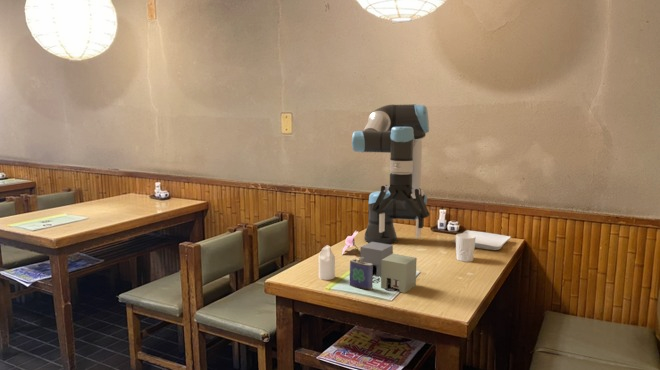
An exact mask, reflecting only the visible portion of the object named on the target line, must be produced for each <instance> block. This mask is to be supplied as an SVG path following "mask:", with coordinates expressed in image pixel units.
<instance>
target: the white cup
mask: <svg viewBox="0 0 660 370" xmlns="http://www.w3.org/2000/svg"><path fill="white" fill-rule="evenodd" d="M455 238H456V243H455V253H456V254H455V255H456V257H455V258H456V260H457V261H459V262H465V263H466V262H467V263H469V262H473V261H474V256H475V255H474V254H475V249H476V248H475V240H476V236H475V235H472V234H462V233H457V234H455Z"/></svg>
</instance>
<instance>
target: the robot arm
mask: <svg viewBox="0 0 660 370" xmlns="http://www.w3.org/2000/svg"><path fill="white" fill-rule="evenodd" d="M429 120H430V119H429V113H428V109H427V107H426V105H424V104H416V103H415V104H386V105H384V106H381V107H379V108H377V109H375V110H373V111H372V112H371V113H370V114H369V116H368V118H367V123H366V125H365V127H364V129H363V130H356V131H353V133H352V136H351V147H352V150H353V152H356V153H357V152H359V153H385V154H386V153H387V154H388V153H390V158H389V166H390V168H389V171H390V174H389V186H388V185H387V184H384V185H382V186H380V190H378V191H373V192H371V193H370V194H369V196H368V222H367V227H366V230H365V233H364V239H363V240H364V241H365V242H367V243H370V242H377V243H383V244H389V245H390V244H394V243H396V242H397V237H398V236H397V233H396V230H395V226H394V220H405V221H406V220H407V221H415V239H418V238H421V237H422V235H421V234H422V229H423V228H424V223H425V218H428V217H430V212H429V209H428V208H427V200H428V195H426V194H425V191H424V189H422V154H423V153H422V151H423V150H422V148H423V145H422V143H423V140H424V138H426V134H427V133H429V132H430V126H429V125H430V121H429Z"/></svg>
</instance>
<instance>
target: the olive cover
mask: <svg viewBox="0 0 660 370" xmlns="http://www.w3.org/2000/svg"><path fill="white" fill-rule="evenodd" d="M417 259H418V258H417V257H414V256H410V255H409V256H408V255H404V254H398V253H393V254H391V255H390V256H388V257H386V258H384V259H382V262H381V277H380V288H381V289H384V288H385V290H387V289H388V285H391V279H395V280H400V289H399V292H400V293H403V294H406V293H408V292H409V291H410V290H411V289H412V288H414V287H415V286H416V284H417Z"/></svg>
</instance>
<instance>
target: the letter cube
mask: <svg viewBox="0 0 660 370" xmlns="http://www.w3.org/2000/svg"><path fill="white" fill-rule="evenodd" d="M392 287H393V289H397V288H398V289H397V290H400V280H395V279H391V283H390V288H392Z"/></svg>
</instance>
